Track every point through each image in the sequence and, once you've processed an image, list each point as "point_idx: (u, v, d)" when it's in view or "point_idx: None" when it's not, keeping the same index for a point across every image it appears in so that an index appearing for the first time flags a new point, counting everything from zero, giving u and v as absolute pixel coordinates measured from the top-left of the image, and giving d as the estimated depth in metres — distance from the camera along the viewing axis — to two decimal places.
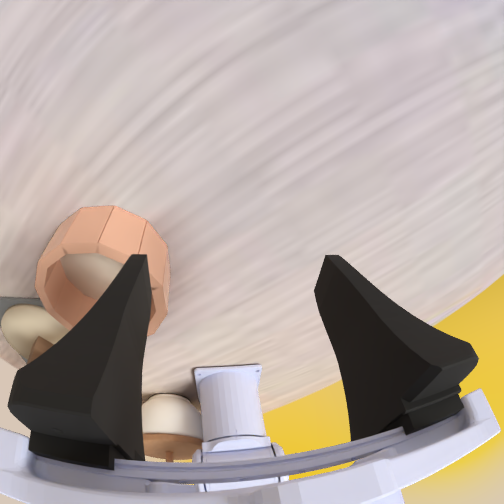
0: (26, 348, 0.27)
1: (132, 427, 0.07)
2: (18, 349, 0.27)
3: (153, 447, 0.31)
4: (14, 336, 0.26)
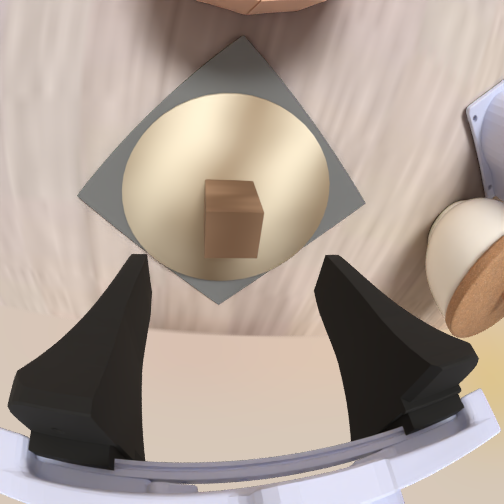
0: (196, 245, 0.19)
1: (132, 427, 0.07)
2: (183, 264, 0.19)
3: (491, 288, 0.15)
4: (162, 230, 0.18)
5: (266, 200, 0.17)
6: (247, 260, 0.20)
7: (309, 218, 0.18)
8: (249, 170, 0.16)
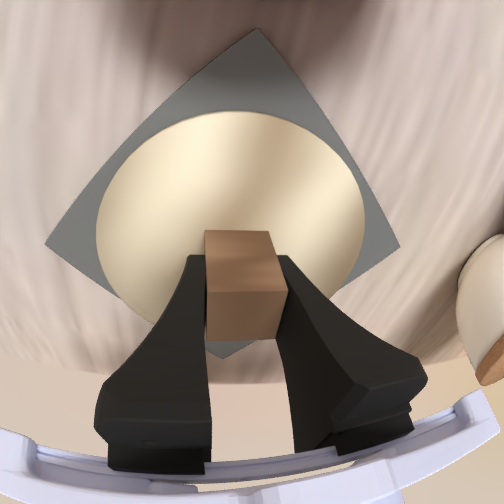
0: None
1: None
2: None
3: None
4: (152, 290, 0.14)
5: (284, 253, 0.13)
6: None
7: (336, 271, 0.15)
8: (264, 217, 0.12)
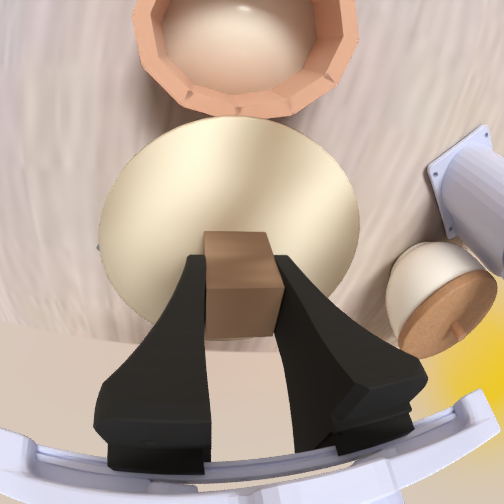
0: None
1: None
2: None
3: (436, 323, 0.20)
4: (152, 290, 0.14)
5: (281, 253, 0.14)
6: None
7: (332, 271, 0.15)
8: (261, 218, 0.13)
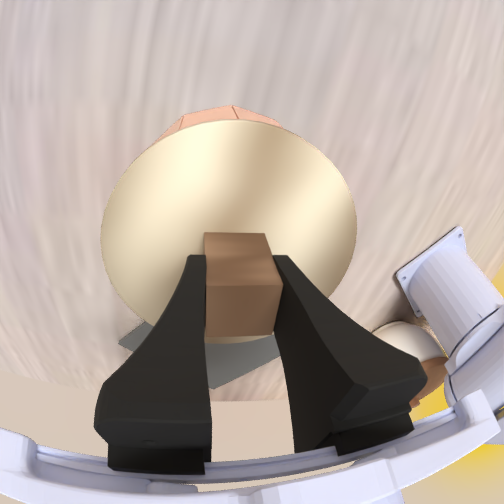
0: None
1: None
2: None
3: None
4: (153, 292, 0.14)
5: None
6: None
7: (331, 273, 0.15)
8: (260, 220, 0.13)
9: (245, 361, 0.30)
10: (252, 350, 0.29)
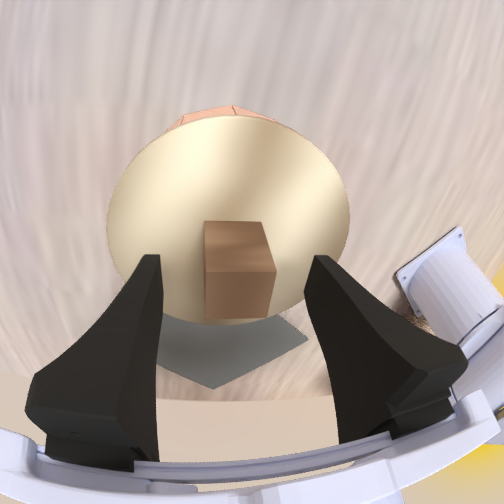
0: (195, 291, 0.16)
1: (149, 428, 0.07)
2: (180, 309, 0.17)
3: None
4: None
5: (275, 242, 0.15)
6: None
7: None
8: (257, 209, 0.14)
9: (245, 361, 0.30)
10: (252, 350, 0.29)
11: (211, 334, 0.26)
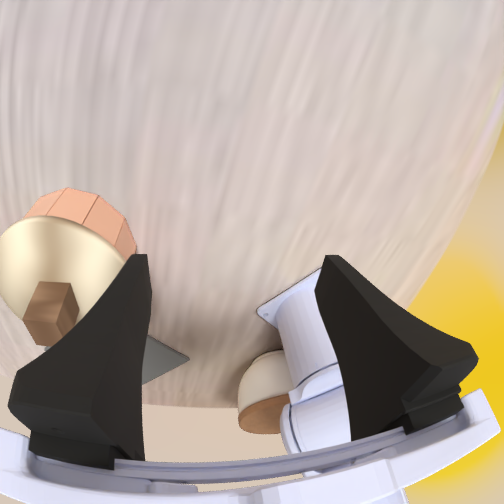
0: None
1: (132, 427, 0.07)
2: None
3: (262, 421, 0.29)
4: None
5: (85, 295, 0.18)
6: None
7: None
8: (65, 275, 0.17)
9: None
10: None
11: None
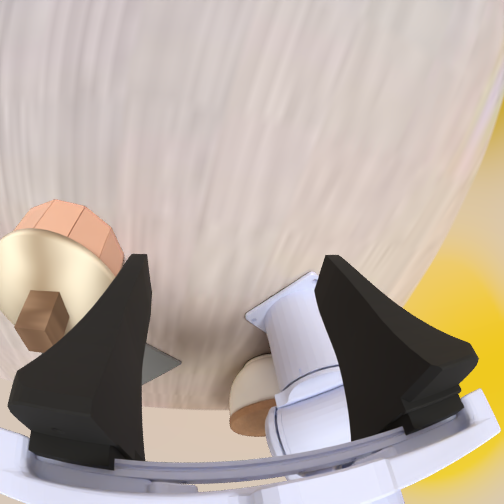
0: None
1: (132, 427, 0.07)
2: None
3: (253, 424, 0.29)
4: None
5: (74, 303, 0.19)
6: None
7: None
8: (53, 284, 0.17)
9: None
10: None
11: None
